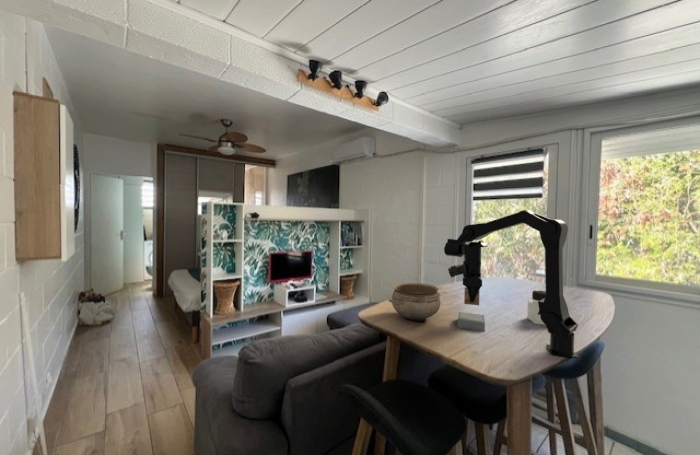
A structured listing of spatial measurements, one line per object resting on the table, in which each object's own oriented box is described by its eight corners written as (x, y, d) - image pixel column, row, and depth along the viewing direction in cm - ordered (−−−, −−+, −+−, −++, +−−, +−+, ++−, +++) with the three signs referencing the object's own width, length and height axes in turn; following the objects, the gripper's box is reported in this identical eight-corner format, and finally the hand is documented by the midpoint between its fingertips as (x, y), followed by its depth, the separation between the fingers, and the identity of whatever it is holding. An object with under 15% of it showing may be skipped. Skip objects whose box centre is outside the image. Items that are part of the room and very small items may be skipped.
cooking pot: (404, 332, 101) (405, 297, 100) (375, 315, 118) (376, 285, 117) (456, 320, 112) (457, 289, 112) (423, 307, 129) (423, 280, 129)
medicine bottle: (555, 325, 108) (556, 294, 107) (534, 324, 109) (535, 292, 109) (546, 319, 115) (547, 289, 114) (526, 317, 116) (527, 288, 116)
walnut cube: (479, 305, 104) (479, 291, 104) (464, 303, 106) (464, 290, 106) (478, 301, 109) (479, 288, 109) (464, 300, 111) (464, 287, 111)
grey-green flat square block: (484, 331, 102) (484, 322, 102) (457, 327, 105) (457, 318, 105) (483, 322, 110) (483, 314, 110) (458, 319, 114) (458, 311, 114)
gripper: (451, 254, 119) (450, 292, 119) (447, 260, 101) (447, 304, 102) (480, 256, 114) (480, 295, 115) (482, 262, 97) (481, 308, 98)
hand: (471, 300), depth 107 cm, fingers closed on walnut cube, 5 cm apart
